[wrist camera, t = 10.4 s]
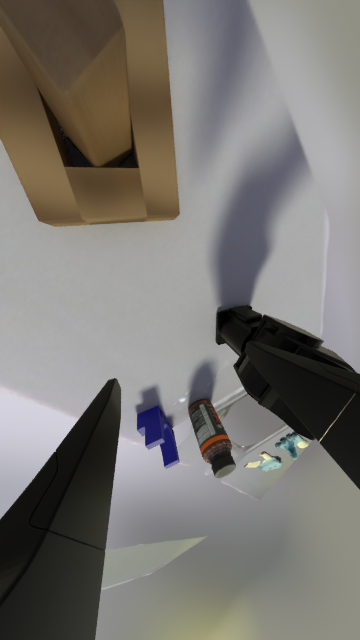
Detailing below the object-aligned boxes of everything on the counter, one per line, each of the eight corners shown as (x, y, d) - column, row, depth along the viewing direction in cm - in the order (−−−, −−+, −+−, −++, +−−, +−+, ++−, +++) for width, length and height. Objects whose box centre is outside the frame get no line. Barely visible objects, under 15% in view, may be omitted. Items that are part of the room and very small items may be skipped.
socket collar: (173, 219, 16) (179, 213, 13) (55, 226, 13) (38, 220, 11) (155, 25, 10) (160, -37, 8) (-51, -22, 8) (-123, -128, 6)
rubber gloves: (267, 469, 78) (277, 485, 72) (242, 464, 62) (253, 485, 56) (306, 440, 75) (319, 455, 69) (290, 428, 59) (306, 446, 53)
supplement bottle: (214, 404, 34) (246, 465, 24) (195, 418, 34) (218, 483, 24) (203, 394, 31) (234, 459, 21) (183, 409, 31) (203, 480, 21)
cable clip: (137, 413, 28) (136, 450, 23) (157, 404, 29) (162, 438, 23) (156, 438, 34) (159, 472, 28) (173, 430, 34) (179, 462, 29)
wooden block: (95, 89, 11) (13, -227, 4) (134, 151, 13) (129, 22, 6) (60, 128, 11) (-75, -94, 4) (104, 183, 13) (63, 98, 6)
